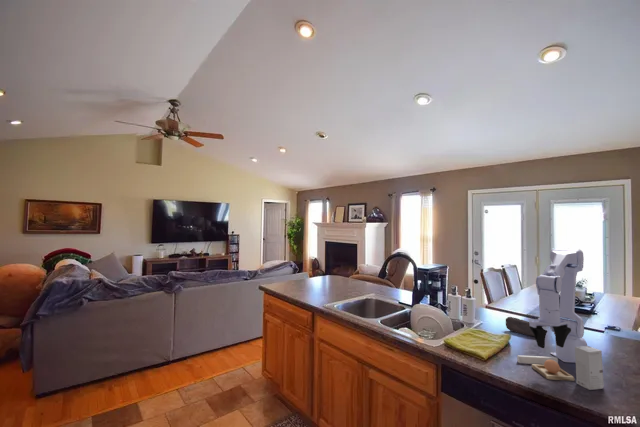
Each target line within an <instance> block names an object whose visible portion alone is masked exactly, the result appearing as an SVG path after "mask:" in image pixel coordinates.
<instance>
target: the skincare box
mask: <svg viewBox="0 0 640 427" xmlns="http://www.w3.org/2000/svg"><path fill="white" fill-rule="evenodd" d="M602 352H603V351H602V350H601V349H597V348H596V347H592V346H589V345H587V346H580V347H575V359H576V363H575V375H576V376H575V377H576V378H575V380H576V384H577V385H578V386H580V387H582V388H585V389H587V390H588V391H592V390H601V389H604V371H603V356H602V355H603V353H602Z"/></svg>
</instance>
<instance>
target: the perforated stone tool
mask: <svg viewBox="0 0 640 427" xmlns="http://www.w3.org/2000/svg"><path fill="white" fill-rule="evenodd" d="M529 325H530V324H529V321H527V320H525V319H520V318H517V317H512V316H508V317H507V318H505V327H506V329H507V330H509V331H511V332H514V333H515V334H517V333H518V334H521V335H524V336H530V337H535V336H534V334H533V332H532V330H531V329H530V327H529Z"/></svg>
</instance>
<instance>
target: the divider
mask: <svg viewBox="0 0 640 427" xmlns="http://www.w3.org/2000/svg"><path fill="white" fill-rule="evenodd" d="M516 359H517V363H518V364H527V365H528V364H530V365H532V364H539V365H544V363H545V361H546V360H554V361H556V362H557V363H558V364H559V358H557V357H555V356H541V355H540V356H538V355H525V354H524V355H523V354H522V355H521V354H520V355H519V354H517V357H516Z"/></svg>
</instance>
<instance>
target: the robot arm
mask: <svg viewBox="0 0 640 427" xmlns="http://www.w3.org/2000/svg"><path fill="white" fill-rule="evenodd" d="M584 257H585V256H584V252H583V251H582V250H581V249H580V248H579V249H570V248H567V249H566V248H553V247H552V248H551V250H550V253H549V258H550V262H551V264H548V265H547V266H546V268H545V269H544V270H543V272H542V274H540V275H537V276H536V279H535V286H536V287H535V288H536V290H537V295H538V297H539V298H538V299H539V301H538V302H539V303H538V304H539V317H538V318H535V319H533V320H529V321H528V322H529V324H530V325H529V327H530V329H531V330H532V332H533V334H534V336H533V337H534V338H535V342H536V345H537V347H538V348H541V349H545V346H546V336H547V333H548V330H547V329H544V328H543V327H545V328H546V327H547V328H549V329H550V331H551V332H552V333H553V335H554V339H555V351H554V352H550V354H551V355H552V356H553V357H556V358H558V360H560V361H562V362H564V363H573V364H574V363H575V364H576V359H575V347H580V346H588V343H587V341H586V340H585V338H584V334H585V326H584V320H583V318H582V317H581V316H580V315H579V314H577V313H576V312H575V306H576V303H575V302H576V288H577V287H576V284H577V276H578V273H579V272H582V271H583V269H584Z"/></svg>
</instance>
